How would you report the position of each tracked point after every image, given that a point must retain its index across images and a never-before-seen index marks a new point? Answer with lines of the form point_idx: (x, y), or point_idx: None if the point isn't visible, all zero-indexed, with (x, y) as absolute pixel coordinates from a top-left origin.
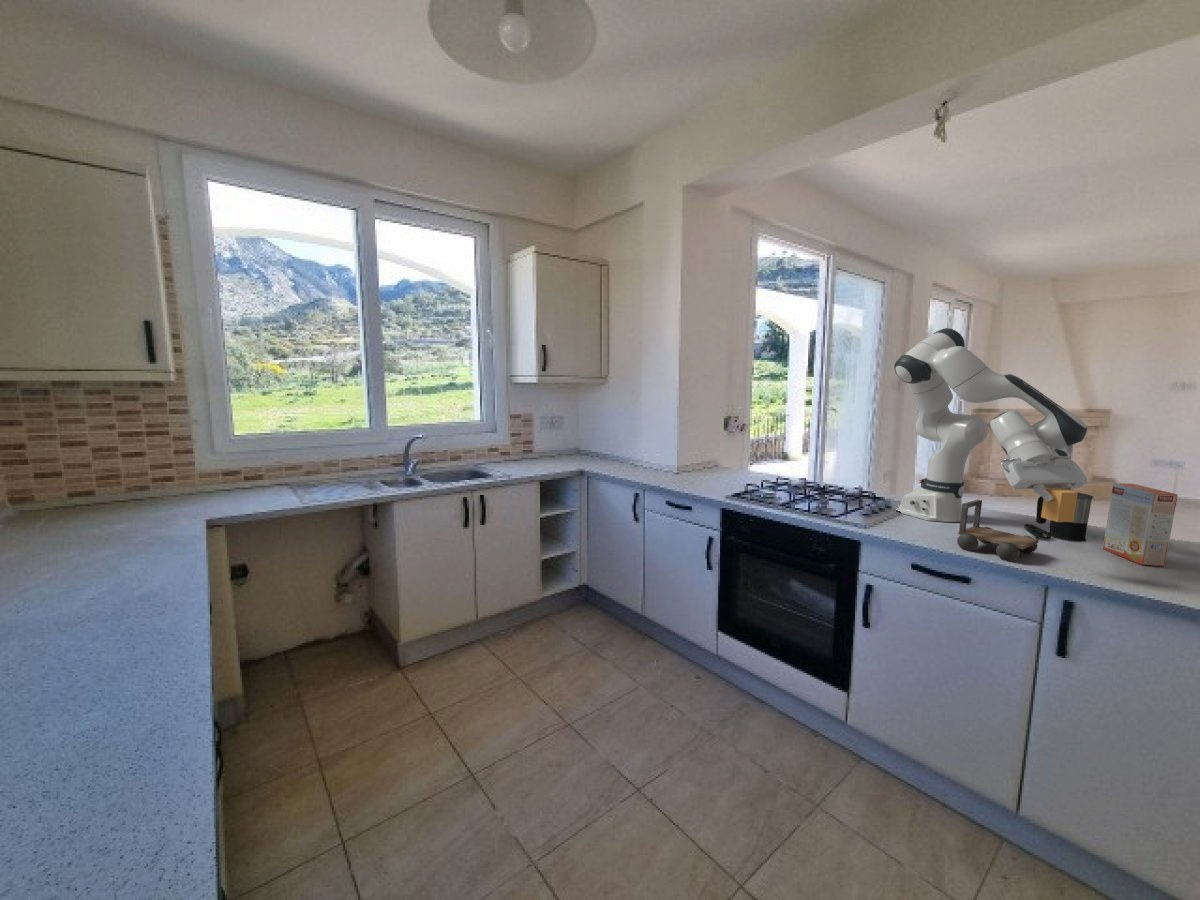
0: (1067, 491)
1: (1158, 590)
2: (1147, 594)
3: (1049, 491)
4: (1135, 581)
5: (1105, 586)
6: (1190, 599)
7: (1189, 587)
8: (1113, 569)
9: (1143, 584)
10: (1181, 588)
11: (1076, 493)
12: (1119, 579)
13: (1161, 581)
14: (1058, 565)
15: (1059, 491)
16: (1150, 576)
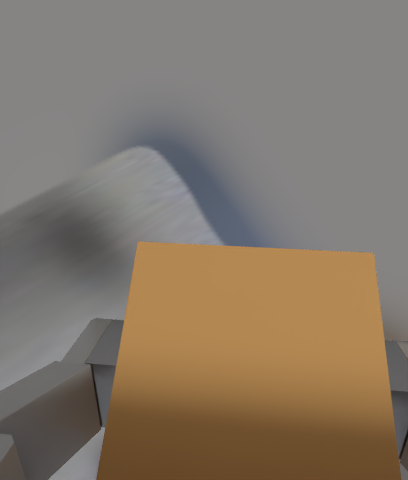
0: (212, 307)
1: (112, 202)
2: (168, 187)
3: (387, 447)
4: (95, 252)
5: (216, 236)
6: (107, 159)
7: (16, 207)
8: (40, 336)
9: (100, 234)
10: (43, 205)
11: (159, 246)
12: (120, 269)
13: (29, 244)
14: None
15: (338, 320)
16: (10, 275)
